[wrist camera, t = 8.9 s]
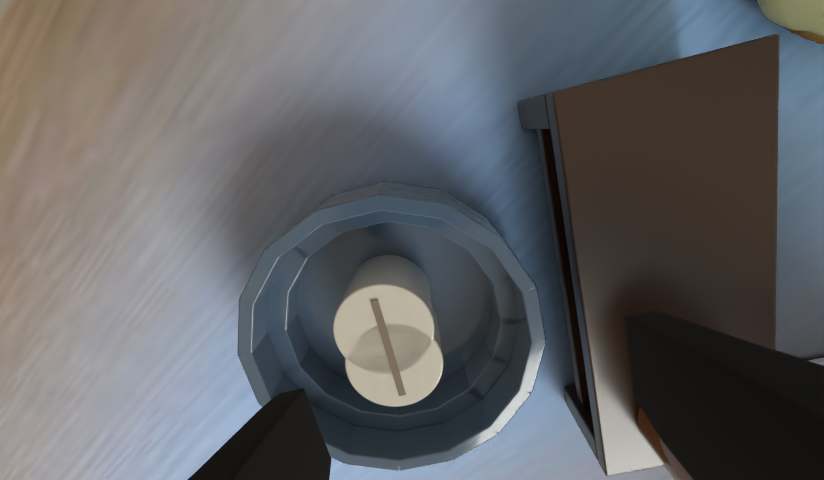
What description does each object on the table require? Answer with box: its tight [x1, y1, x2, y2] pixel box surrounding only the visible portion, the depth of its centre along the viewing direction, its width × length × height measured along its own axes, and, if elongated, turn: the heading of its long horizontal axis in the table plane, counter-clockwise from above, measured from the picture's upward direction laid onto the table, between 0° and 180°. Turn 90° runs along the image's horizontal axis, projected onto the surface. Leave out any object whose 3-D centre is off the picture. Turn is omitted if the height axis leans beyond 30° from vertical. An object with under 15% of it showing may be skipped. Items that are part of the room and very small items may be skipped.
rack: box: [518, 34, 779, 476], centre depth 16 cm, size 16×7×4 cm, turn 14°
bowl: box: [238, 182, 546, 470], centre depth 17 cm, size 12×12×4 cm
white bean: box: [333, 255, 443, 407], centre depth 17 cm, size 6×4×4 cm
